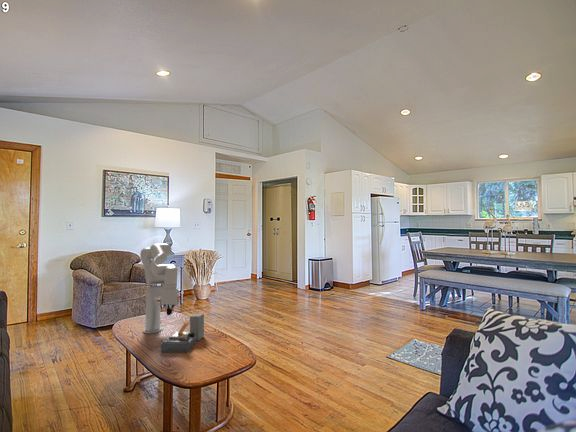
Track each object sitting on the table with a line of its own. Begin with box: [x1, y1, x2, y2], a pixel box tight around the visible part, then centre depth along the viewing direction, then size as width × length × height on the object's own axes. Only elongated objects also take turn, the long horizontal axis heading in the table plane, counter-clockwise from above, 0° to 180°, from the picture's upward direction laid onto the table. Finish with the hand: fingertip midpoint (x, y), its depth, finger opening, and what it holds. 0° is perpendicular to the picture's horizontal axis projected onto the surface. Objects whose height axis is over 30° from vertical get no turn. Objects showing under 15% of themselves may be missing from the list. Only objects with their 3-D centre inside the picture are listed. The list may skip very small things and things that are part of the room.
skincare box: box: [189, 313, 205, 342], centre depth 203 cm, size 8×7×16 cm
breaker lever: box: [178, 320, 190, 335], centre depth 188 cm, size 5×2×8 cm
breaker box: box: [160, 331, 197, 354], centre depth 188 cm, size 16×16×8 cm
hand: (169, 314), depth 192 cm, fingers closed
